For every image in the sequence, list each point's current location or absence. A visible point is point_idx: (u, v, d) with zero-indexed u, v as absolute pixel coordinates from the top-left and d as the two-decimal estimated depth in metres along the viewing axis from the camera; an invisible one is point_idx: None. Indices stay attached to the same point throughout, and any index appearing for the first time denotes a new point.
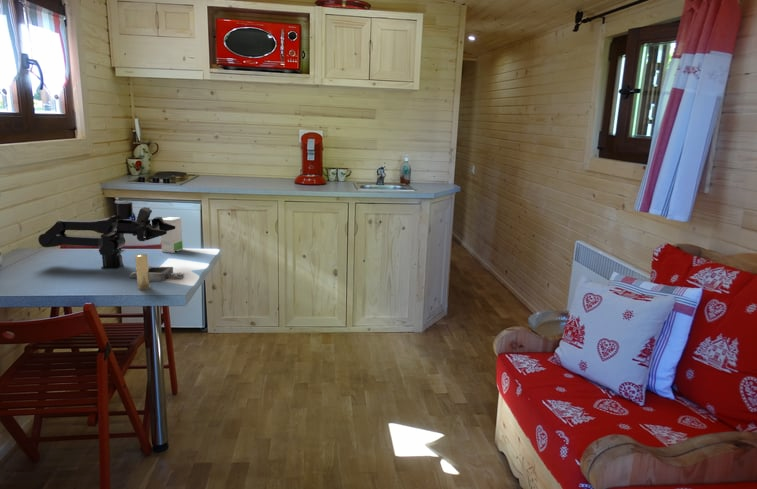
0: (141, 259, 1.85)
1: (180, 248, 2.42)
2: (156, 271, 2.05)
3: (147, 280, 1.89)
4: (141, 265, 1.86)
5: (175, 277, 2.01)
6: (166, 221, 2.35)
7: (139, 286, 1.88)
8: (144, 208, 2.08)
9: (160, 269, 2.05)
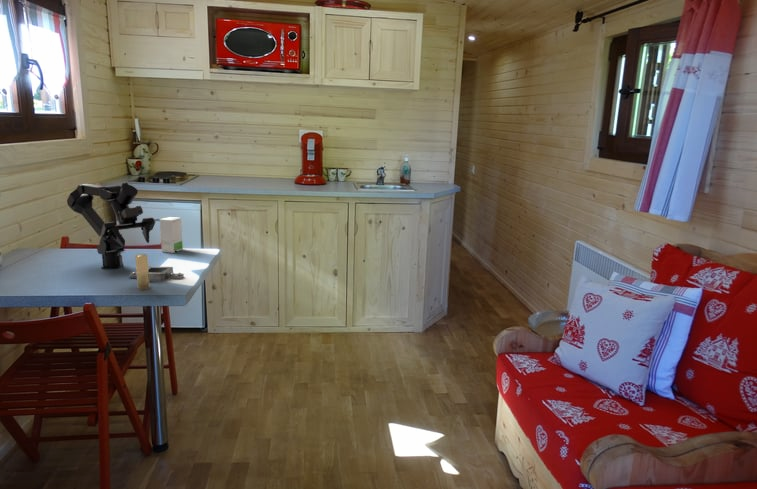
0: (141, 259, 1.85)
1: (180, 248, 2.42)
2: (156, 271, 2.05)
3: (147, 280, 1.89)
4: (141, 265, 1.86)
5: (175, 277, 2.01)
6: (166, 221, 2.35)
7: (139, 286, 1.88)
8: (131, 209, 1.95)
9: (160, 269, 2.05)
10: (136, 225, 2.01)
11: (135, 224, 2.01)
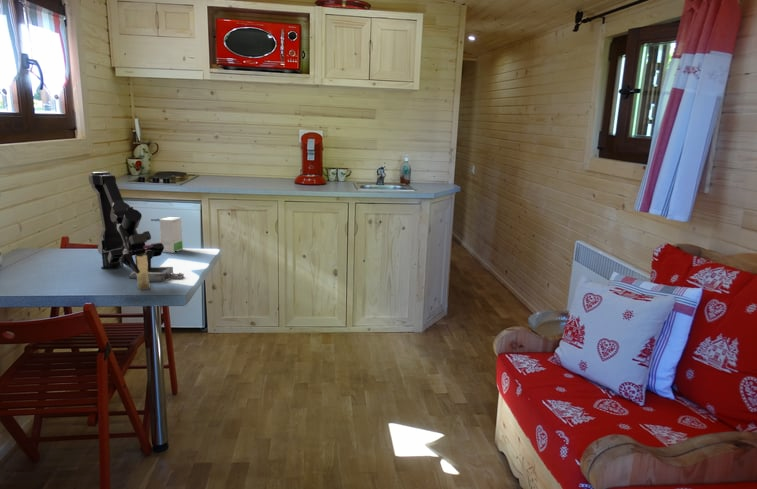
0: (141, 259, 1.85)
1: (180, 248, 2.42)
2: (156, 271, 2.05)
3: (147, 280, 1.89)
4: (141, 265, 1.86)
5: (175, 277, 2.01)
6: (166, 221, 2.34)
7: (139, 286, 1.88)
8: (139, 235, 1.85)
9: (160, 269, 2.05)
10: (144, 251, 1.91)
11: (143, 250, 1.91)
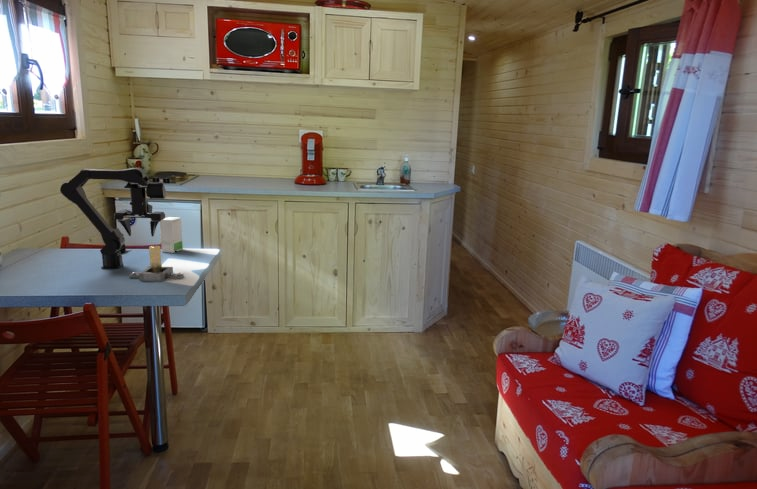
0: (156, 250, 1.98)
1: (180, 248, 2.42)
2: None
3: (161, 269, 2.02)
4: (156, 255, 1.99)
5: (175, 277, 2.01)
6: (166, 221, 2.34)
7: None
8: None
9: None
10: None
11: None
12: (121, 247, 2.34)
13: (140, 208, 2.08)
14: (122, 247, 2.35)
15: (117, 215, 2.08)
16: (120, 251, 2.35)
